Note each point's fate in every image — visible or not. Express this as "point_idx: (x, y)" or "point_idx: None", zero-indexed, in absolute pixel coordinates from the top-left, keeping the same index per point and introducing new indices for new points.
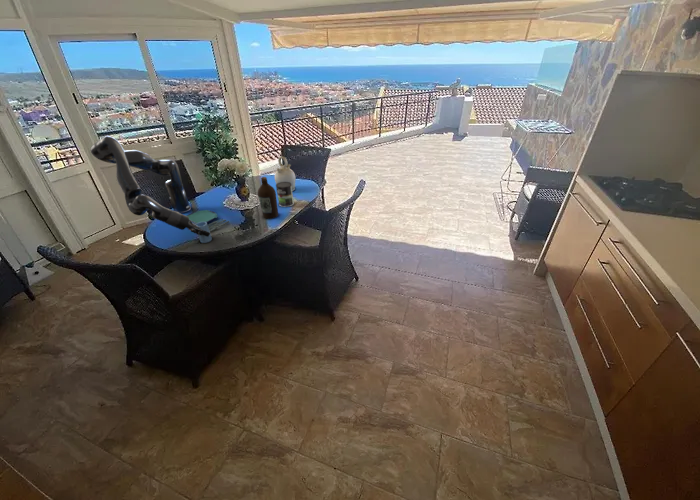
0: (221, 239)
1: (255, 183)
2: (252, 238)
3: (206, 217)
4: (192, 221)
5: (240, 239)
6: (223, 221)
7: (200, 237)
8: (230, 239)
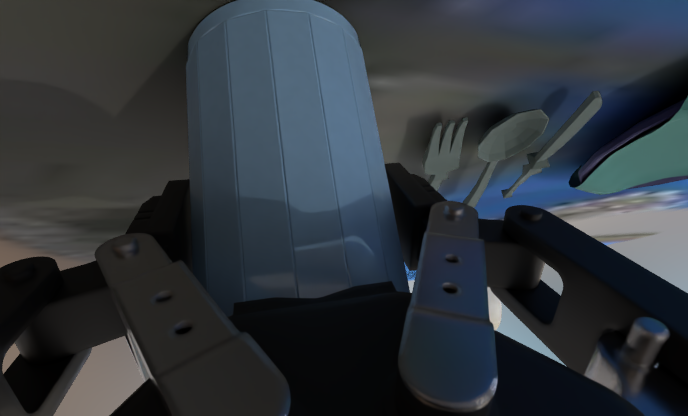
0: (183, 157)
1: (607, 237)
2: (91, 243)
3: (683, 148)
4: (560, 358)
5: (105, 219)
6: (467, 197)
7: (227, 110)
8: (140, 191)
